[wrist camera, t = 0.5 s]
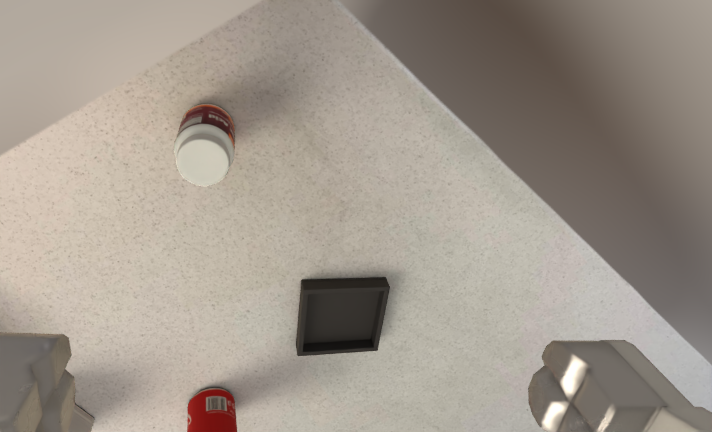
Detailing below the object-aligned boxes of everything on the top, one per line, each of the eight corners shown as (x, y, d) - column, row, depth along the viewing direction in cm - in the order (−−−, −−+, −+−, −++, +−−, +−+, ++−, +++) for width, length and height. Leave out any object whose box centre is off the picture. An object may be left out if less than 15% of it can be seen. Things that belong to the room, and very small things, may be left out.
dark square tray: (301, 279, 56) (303, 290, 54) (385, 277, 58) (390, 286, 56) (295, 345, 60) (297, 356, 59) (373, 340, 63) (377, 350, 61)
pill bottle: (245, 133, 46) (247, 169, 38) (204, 160, 46) (198, 201, 39) (212, 91, 43) (207, 122, 36) (169, 121, 43) (156, 157, 36)
